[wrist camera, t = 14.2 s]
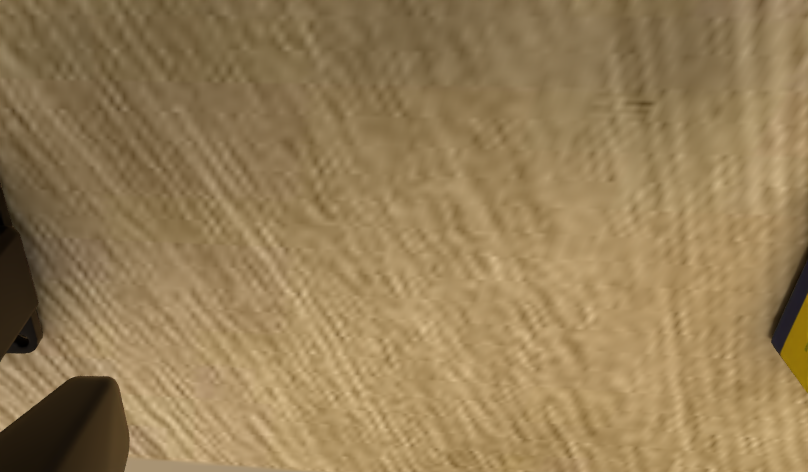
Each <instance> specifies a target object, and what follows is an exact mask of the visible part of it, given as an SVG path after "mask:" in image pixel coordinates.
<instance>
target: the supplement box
mask: <svg viewBox="0 0 808 472" xmlns="http://www.w3.org/2000/svg"><path fill="white" fill-rule="evenodd" d="M771 343H772V345H773V346H774V348H775V349H776V351H777V352H778V353H779V355H780V356H781V357H782V359H783V360H784V362H785V363H786V364H787V366H788V367H789V368H790V370H791V371H792V373H793V374H794V375H795V377H796V378H797V379H798V381H799V382H800V384H801V385H802V386H803V388H804V389H805V390H806V392H807V393H808V259H807V262H806V264H805V266H804V268H803V270H802V272H801V275H800V277H799V279H798V281H797V283H796V286H795V288H794V290H793V292H792V294H791V296H790V299H789V301H788V303H787V305H786V307H785V310H784V312H783V314H782V316H781V319H780V321H779V323H778V325H777V327H776V330H775V332H774V334H773V337H772V340H771Z"/></svg>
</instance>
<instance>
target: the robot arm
mask: <svg viewBox="0 0 808 472" xmlns="http://www.w3.org/2000/svg"><path fill="white" fill-rule="evenodd" d="M38 303H39V302H38V298H37V294H36V291H35V287H34V284H33V280H32V276H31V273H30V269H29V266H28V262H27V258H26V255H25V251H24V247H23V244H22V240H21V237H20V234H19V233H18V232H17V230H16V229H15V228H14V227H13V226H12V222H11V219H10V215H9V211H8V208H7V204H6V201H5V197H4V194H3V190H2V187H1V183H0V361H1V360H2V358H3V357H4V355H5V354H6V353H30V352H32V351H34V350H35V349H36V347H37V346H38V344H39V342H40V341H41V339H42V338H43V332H42V329H41V325H40V321H39V318H38V314H37V311H36V307H37V306H38ZM19 334H21V335H24V336H25V337H27V338H28V339H27V338H23V337H21V336H19ZM128 452H129V430H128V426H127V421H126V417H125V412H124V408H123V403H122V398H121V394H120V389H119V386H118V384H117V382H116V381H115V379H113V378H111V377H107V376H77V377H73V378H71V379H69V380H67V381H66V382H65V383H63V384H62V385H61V386H59V387H58V388H57V389H56V390H54V391H53V392H52V393H50V394H49V395H48V396H47V397H45V398H44V399H43V400H41V401H40V402H39V403H38V404H36V405H35V406H34V407H32V408H31V409H30V410H29V411H27V412H26V413H25V414H23V415H22V416H21V417H20V418H18V419H17V420H16V421H14V422H13V423H12V424H11V425H9V426H8V427H7V428H5V429H4V430H3V431H2V432H0V472H124V470H125V466H126V461H127V457H128Z"/></svg>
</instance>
